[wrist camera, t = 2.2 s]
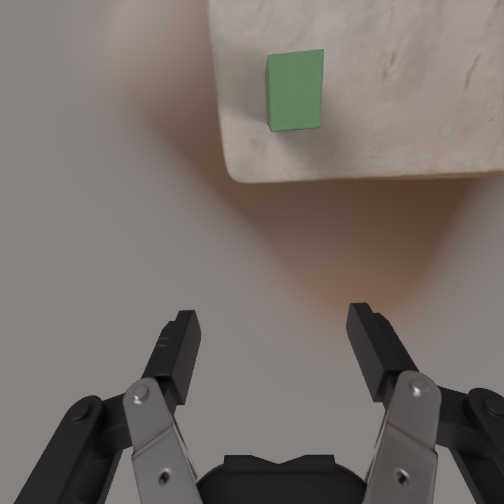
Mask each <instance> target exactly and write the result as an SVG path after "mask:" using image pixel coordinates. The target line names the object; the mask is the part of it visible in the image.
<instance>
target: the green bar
mask: <svg viewBox="0 0 504 504" xmlns="http://www.w3.org/2000/svg"><path fill="white" fill-rule="evenodd" d="M323 60H324V49H319V50H310V51H301V52H292V53H283V54H274V55H268V60H267V66H266V72H265V79H266V102H267V124H268V126H269V128H270V130H271V132H277V131H288V130H300V129H311V128H319V127H320V113H321V95H322V78H323Z"/></svg>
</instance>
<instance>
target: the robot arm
mask: <svg viewBox="0 0 504 504" xmlns="http://www.w3.org/2000/svg"><path fill="white" fill-rule="evenodd" d="M346 329H347V334H348V337H349V340H350V343H351V345H352V348H353V350H354V353H355V356H356V358H357V361H358V363H359V366H360V368H361V371H362V374H363V376H364V379H365V382H366V384H367V387H368V389H369V392H370V394H371V397H372V400H373V402H382V403H383V405H384V408H385V413H384V416H383V419H382V423H381V426H380V429H379V432H378V436H377V439H376V442H375V445H374V449H373V452H372V455H371V458H370V461H369V464H368V467H367V470H366V473H365V476H364V479H363V480H362V479H361V478H360V477H359V476H358V475H356V474H355V473H354V472H352V471H351V470H349V469H348V468H345V467H344V466H342V465H339V464H336V463H335V459H334V455H304V456H301V457H298V458H296V459H293V460H290V461H287V462H284V463H281V464H276V463H273V462H270V461H267V460H264V459H261V458H258V457H255V456H252V455H225V456H224V464H221V465H219V466H217V467H215V468H213V469H212V470H211V471H209V472H208V473H206V474H205V475H204V476H203V477H202V478H201V479H200V476H199V474H198V471H197V469H196V467H195V464H194V463H193V460H192V458H191V456H190V453H189V451H188V448H187V446H186V443H185V441H184V438H183V436H182V433H181V431H180V428H179V426H178V423H177V421H176V418H175V416H174V413H175V409H176V406H177V405H185V401H186V397H187V393H188V389H189V385H190V381H191V377H192V373H193V369H194V365H195V361H196V357H197V353H198V349H199V345H200V341H201V329H200V326H199V322H198V319H197V316H196V312H195V310H183V311H179V313H178V315H177V318H176V320H175V321H169V323H168V324H167V325H166V326H165V327H164V328H163V329H162V331H161V334H160V336H159V340H158V341H157V343H156V345H155V348H154V350H153V352H152V354H151V357H150V359H149V361H148V364H147V366H146V368H145V371H144V373H143V375H142V377H141V379H140V380H138V381H136V382H135V383H133V384H132V385H131V386H130V387H129V389H128V390H127V391H126V392H125V393H123V394H121V395H118V396H115V397H112V398H109V399H107V400H104V401H102V400H101V399H100V398H99V397H98V396H94V395H93V396H87V397H84V398H82V399H81V400H79V401H78V402H76V403H75V404H74V405H73V406H72V407H71V408H70V409H69V410H68V411H67V413H66V414H65V416H64V417H63V419H62V421H61V423H60V425H59V426H58V428H57V430H56V431H55V433H54V435H53V436H52V438H51V440H50V442H49V444H48V445H47V447H46V449H45V450H44V452H43V454H42V455H41V457H40V459H39V461H38V462H37V464H36V466H35V468H34V469H33V471H32V473H31V475H30V476H29V478H28V480H27V482H26V483H25V485H24V487H23V488H22V490H21V492H20V494H19V495H18V497H17V499H16V501H15V502H14V504H104V503H105V501H106V498H107V495H108V492H109V489H110V486H111V483H112V481H113V478H114V475H115V472H116V469H117V466H118V463H119V460H120V458H121V455H122V452H123V449H126V448H128V447H131V446H133V450H134V452H133V454H132V465H133V470H134V474H135V479H136V483H137V488H138V492H139V497H140V502H141V504H433V498H434V489H435V481H436V473H437V464H438V454H437V452H435V444H438V445H441V446H444V447H447V448H449V450H450V452H451V454H452V456H453V458H454V460H455V462H456V464H457V466H458V468H459V470H460V472H461V474H462V476H463V478H464V480H465V482H466V484H467V486H468V488H469V490H470V492H471V494H472V496H473V498H474V500H475V502H476V504H504V397H502V396H501V395H499V394H497V393H495V392H493V391H491V390H488V389H484V388H474V389H472V390H470V391H469V393H468V394H465V393H461V392H458V391H454V390H450V389H446V388H443V387H440V386H438V385H436V384H435V382H434V381H433V380H431V379H430V378H429V377H427V376H426V375H424V374H422V373H420V372H419V370H418V369H417V367H416V366H415V364H414V362H413V361H412V359H411V357H410V356H409V354H408V352H407V351H406V349H405V347H404V346H403V344H402V342H401V341H400V340H399V338H398V336H397V334H396V332H394V329H393V327H392V326H391V324H390V322H389V321H388V320H387V319H386V318H385V317H384V316H382V315H381V314H380V313H373V312H372V310H371V308H370V307H369V305H368V304H367V303H351V304H350V305H349V311H348V317H347V324H346Z"/></svg>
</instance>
